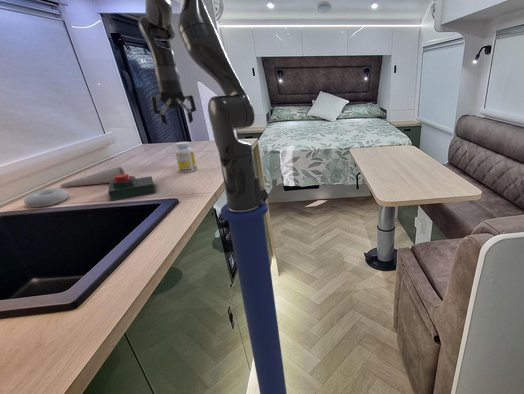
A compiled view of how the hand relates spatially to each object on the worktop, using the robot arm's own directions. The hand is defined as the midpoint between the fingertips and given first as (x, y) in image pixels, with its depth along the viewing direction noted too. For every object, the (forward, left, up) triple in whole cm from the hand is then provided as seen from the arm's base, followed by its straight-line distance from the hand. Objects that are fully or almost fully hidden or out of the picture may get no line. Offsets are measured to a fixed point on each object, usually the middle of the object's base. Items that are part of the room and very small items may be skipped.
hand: (178, 123), depth 114 cm
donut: (+41, +12, -20) cm, 47 cm away
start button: (+21, +17, -15) cm, 31 cm away
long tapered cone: (+31, 0, -20) cm, 37 cm away
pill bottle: (0, 0, -20) cm, 20 cm away
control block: (+19, +17, -19) cm, 32 cm away
